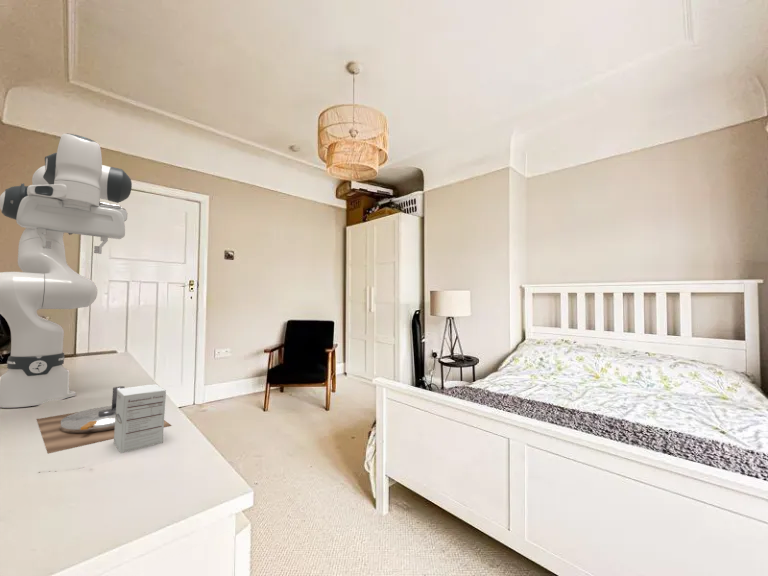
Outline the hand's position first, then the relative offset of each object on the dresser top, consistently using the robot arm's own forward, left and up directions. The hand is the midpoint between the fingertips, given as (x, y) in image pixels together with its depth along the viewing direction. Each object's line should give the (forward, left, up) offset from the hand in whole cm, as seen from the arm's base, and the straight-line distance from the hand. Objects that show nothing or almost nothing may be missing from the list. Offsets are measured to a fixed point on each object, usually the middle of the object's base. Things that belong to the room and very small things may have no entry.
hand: (73, 250), depth 85 cm
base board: (+10, +7, -44) cm, 45 cm away
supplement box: (+30, +9, -44) cm, 54 cm away
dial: (+11, +6, -42) cm, 44 cm away
